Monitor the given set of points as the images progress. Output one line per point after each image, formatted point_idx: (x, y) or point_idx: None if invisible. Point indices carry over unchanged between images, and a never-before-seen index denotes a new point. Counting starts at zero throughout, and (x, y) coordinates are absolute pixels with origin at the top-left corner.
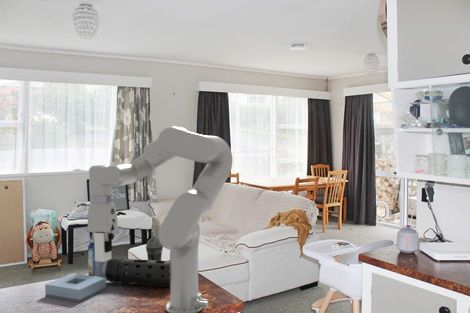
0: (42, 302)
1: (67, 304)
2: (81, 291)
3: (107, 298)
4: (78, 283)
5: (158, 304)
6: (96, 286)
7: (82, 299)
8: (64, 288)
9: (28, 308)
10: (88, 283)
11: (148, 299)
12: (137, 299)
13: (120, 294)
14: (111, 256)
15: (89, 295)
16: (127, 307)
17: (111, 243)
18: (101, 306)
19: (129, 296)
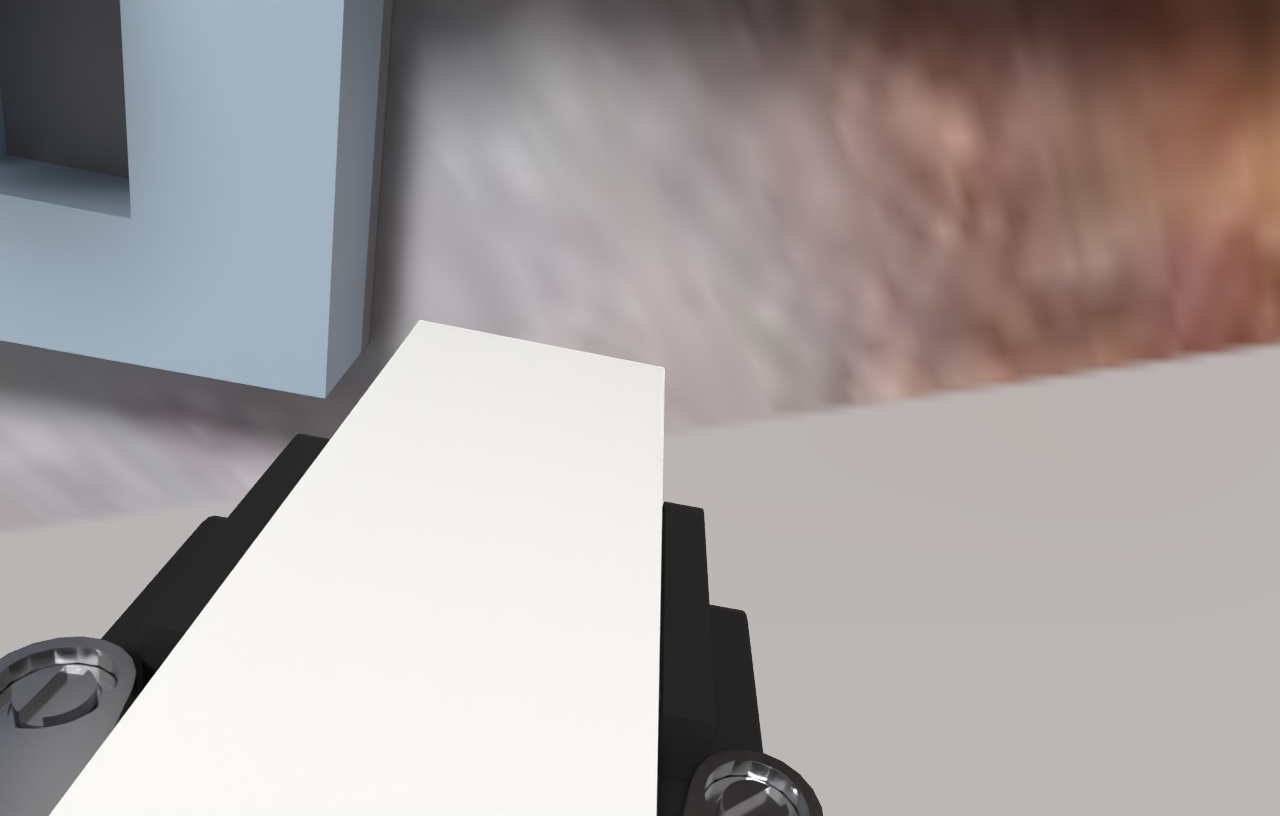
0: (2, 396)
1: (284, 401)
2: (337, 355)
3: (598, 182)
4: (136, 190)
5: (1239, 251)
6: (359, 80)
7: (367, 308)
8: (92, 351)
9: (14, 530)
10: (269, 163)
11: (1099, 129)
12: (964, 152)
13: (694, 25)
14: (663, 388)
15: (372, 201)
16: (920, 374)
17: (755, 723)
18: None
19: (835, 73)
